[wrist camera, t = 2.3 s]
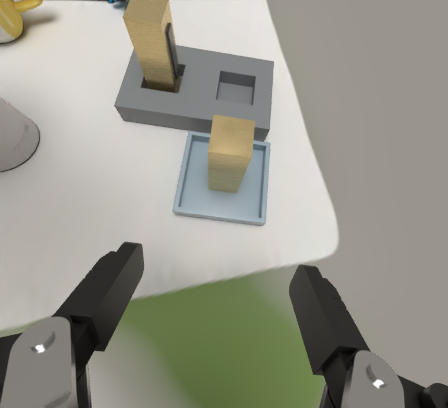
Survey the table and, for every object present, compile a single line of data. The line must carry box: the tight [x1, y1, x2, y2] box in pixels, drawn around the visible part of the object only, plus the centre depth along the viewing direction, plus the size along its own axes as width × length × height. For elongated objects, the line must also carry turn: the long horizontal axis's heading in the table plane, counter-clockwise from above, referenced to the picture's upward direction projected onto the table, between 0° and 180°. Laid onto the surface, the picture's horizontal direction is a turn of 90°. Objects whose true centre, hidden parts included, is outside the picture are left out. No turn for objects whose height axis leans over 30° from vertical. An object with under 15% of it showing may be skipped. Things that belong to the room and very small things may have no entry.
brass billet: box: [208, 115, 255, 193], centre depth 22 cm, size 4×4×10 cm
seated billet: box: [123, 0, 181, 94], centre depth 25 cm, size 4×4×10 cm
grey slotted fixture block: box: [114, 45, 274, 141], centre depth 30 cm, size 22×13×3 cm, turn 83°
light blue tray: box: [173, 131, 270, 226], centre depth 27 cm, size 12×12×2 cm
